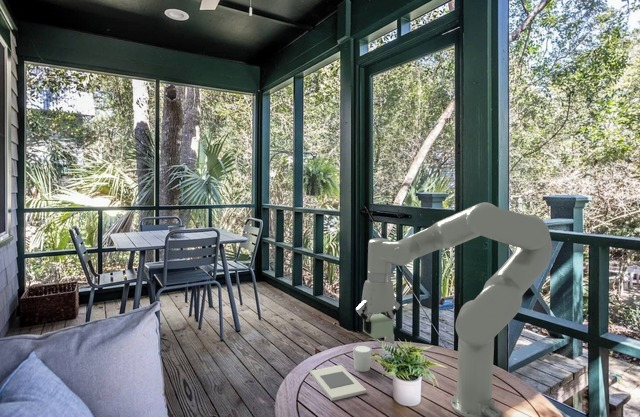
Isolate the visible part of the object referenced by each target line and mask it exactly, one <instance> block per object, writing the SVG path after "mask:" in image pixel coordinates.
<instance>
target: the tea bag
mask: <svg viewBox="0 0 640 417" xmlns="http://www.w3.org/2000/svg"><path fill="white" fill-rule="evenodd" d="M383 340H384V341H383V343H384V342H390V343H392V344H394V345H395V334H394V332H393V336H388V337H384V339H383Z"/></svg>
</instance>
